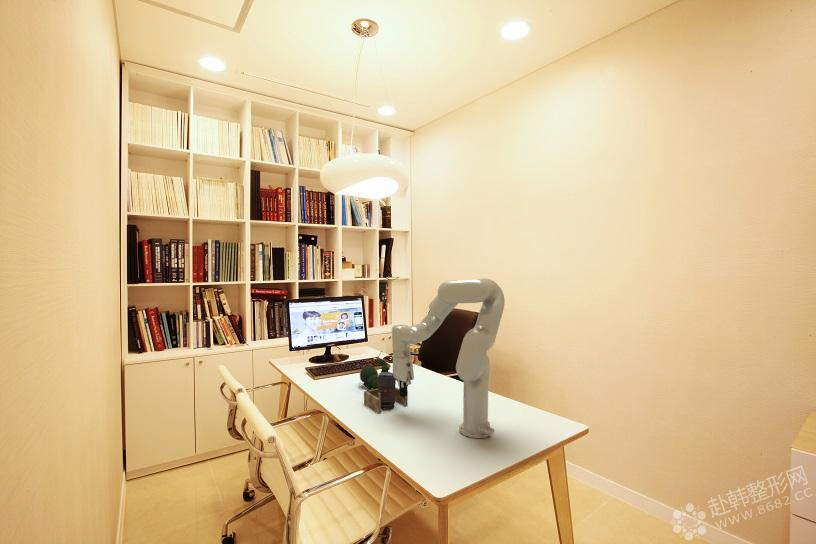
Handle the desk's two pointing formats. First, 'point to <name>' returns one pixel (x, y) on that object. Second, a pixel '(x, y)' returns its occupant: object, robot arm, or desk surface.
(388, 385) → the dark barrel
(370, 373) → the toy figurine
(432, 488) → the desk surface
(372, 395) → the walnut bay
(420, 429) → the desk surface
